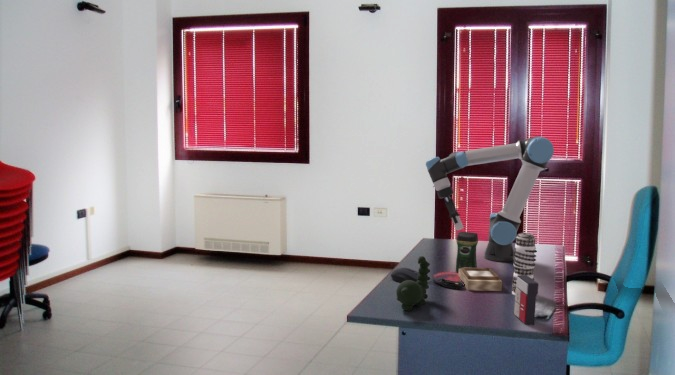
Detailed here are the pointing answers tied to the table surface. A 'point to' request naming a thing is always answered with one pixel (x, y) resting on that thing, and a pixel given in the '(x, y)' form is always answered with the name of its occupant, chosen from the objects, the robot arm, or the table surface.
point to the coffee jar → (466, 250)
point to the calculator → (525, 299)
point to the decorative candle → (523, 257)
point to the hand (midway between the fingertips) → (460, 229)
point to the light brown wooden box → (480, 279)
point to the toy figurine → (414, 288)
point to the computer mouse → (410, 274)
